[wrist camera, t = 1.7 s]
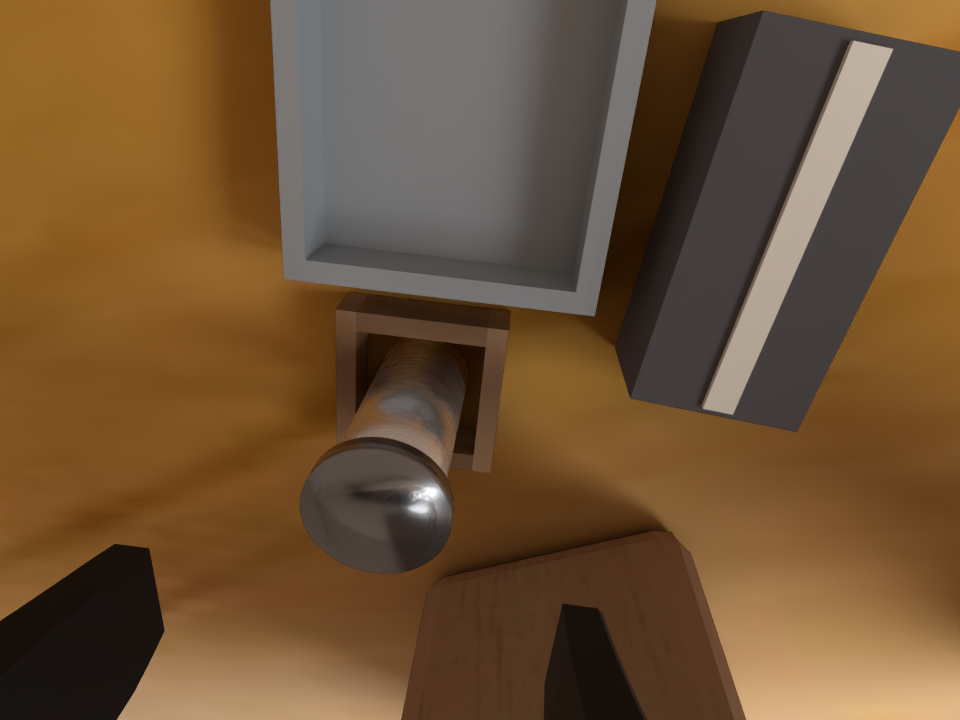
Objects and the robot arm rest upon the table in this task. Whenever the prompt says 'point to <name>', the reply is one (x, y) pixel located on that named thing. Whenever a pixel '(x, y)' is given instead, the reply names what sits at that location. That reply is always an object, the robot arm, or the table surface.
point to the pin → (392, 465)
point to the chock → (780, 212)
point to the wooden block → (533, 622)
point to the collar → (427, 324)
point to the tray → (455, 143)
